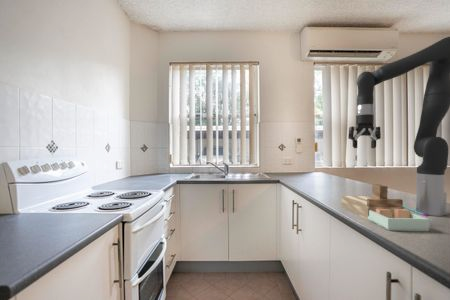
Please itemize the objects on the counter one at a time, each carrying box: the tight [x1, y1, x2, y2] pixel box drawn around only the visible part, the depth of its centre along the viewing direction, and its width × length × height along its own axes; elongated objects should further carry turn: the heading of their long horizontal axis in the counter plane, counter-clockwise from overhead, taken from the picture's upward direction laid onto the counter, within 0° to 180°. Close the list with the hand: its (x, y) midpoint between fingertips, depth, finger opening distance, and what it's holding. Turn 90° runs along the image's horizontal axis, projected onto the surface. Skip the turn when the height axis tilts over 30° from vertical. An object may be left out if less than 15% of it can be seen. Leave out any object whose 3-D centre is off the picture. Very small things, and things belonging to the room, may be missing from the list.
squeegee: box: [403, 205, 429, 217], centre depth 116 cm, size 29×2×10 cm
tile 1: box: [376, 209, 391, 218], centre depth 91 cm, size 4×4×2 cm
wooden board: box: [341, 195, 405, 221], centre depth 106 cm, size 14×22×5 cm, turn 179°
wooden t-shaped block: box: [367, 183, 404, 208], centre depth 98 cm, size 13×6×8 cm, turn 89°
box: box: [367, 210, 430, 232], centre depth 89 cm, size 14×12×4 cm
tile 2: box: [394, 208, 411, 218], centre depth 91 cm, size 4×4×2 cm
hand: (364, 148), depth 118 cm, fingers open, 8 cm apart
